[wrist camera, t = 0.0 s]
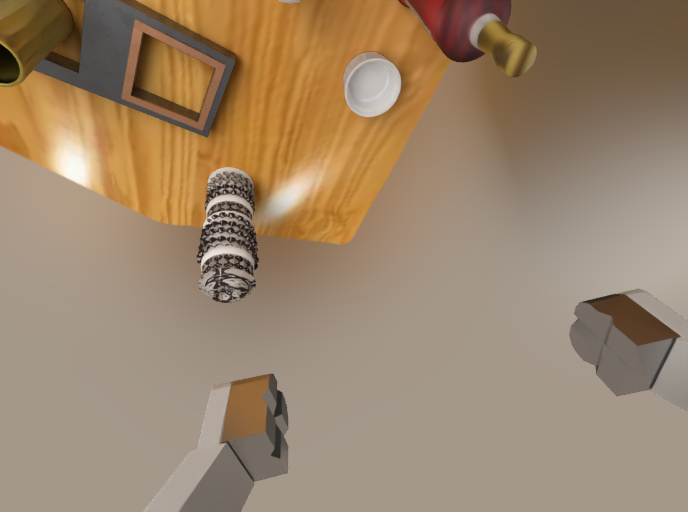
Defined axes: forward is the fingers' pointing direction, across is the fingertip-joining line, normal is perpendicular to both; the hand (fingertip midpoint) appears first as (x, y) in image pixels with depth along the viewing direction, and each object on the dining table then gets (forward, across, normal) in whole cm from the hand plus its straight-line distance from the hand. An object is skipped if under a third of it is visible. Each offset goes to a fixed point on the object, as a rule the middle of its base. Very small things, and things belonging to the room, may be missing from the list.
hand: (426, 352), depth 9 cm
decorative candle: (+60, +19, +13) cm, 64 cm away
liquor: (+51, -16, -12) cm, 55 cm away
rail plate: (+51, +25, -11) cm, 58 cm away
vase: (+50, +30, -16) cm, 60 cm away
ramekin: (+55, -9, -1) cm, 56 cm away
